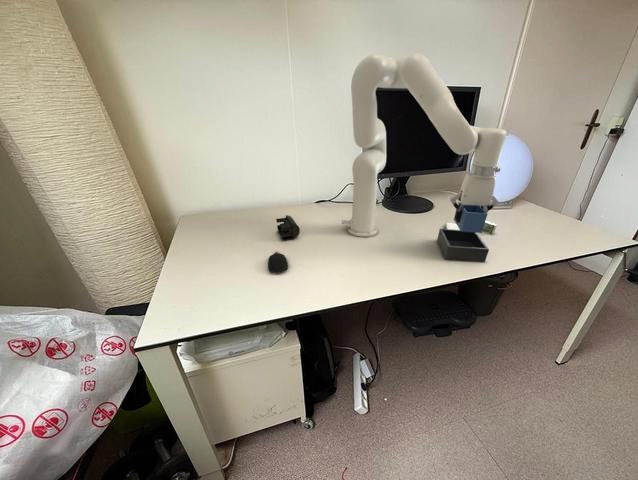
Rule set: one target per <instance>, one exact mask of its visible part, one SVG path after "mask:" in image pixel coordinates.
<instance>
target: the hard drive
mask: <svg viewBox="0 0 638 480" xmlns="http://www.w3.org/2000/svg"><path fill="white" fill-rule="evenodd" d="M444 226H445V229H452V230H460V229H459V227H458V226H457V224H456V223H455V222H445V224H444Z"/></svg>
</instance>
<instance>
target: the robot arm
mask: <svg viewBox="0 0 638 480" xmlns="http://www.w3.org/2000/svg"><path fill="white" fill-rule="evenodd" d="M350 83H351V84H350V91H351V93H350V94H351V107H352V109H351V110H352V130H353V140H354V142H355V144H356V145H357V146H358V147H359V148H360V149H362V152H361V153H360V154H358V155H357V156H356V157H355V158H354V160H353V163H352V166H351V168H352V170H351V171H352V172H351V173H352V184H353V185H352V187H353V189H352V210H351V211H352V213H351V219H348V220H347V219H341V225H343V227H347V231H348V233H349V234H350V235H352V236H356V237H362V238H366V237H372V236H374V235H376V234H378V227H377V226H376V225H375V220H376V219H375V218H376V210H377V209H376V208H377V199H378V198H377V197H378V174H379V173H381V172H382V171H383V170H384V169H385V167H386V164H387V130H386V126H385V124H384V122H383V120H381V119H380V118H378V101H377V95H376V92H377V88H381V89H407V90H408V91H409V93H410V94H411V95H412V96H413V98H414V99H415V100H416V102H417V103H418V105H419V106H420V107H421V108H422V110H423V111H424V113H425V114H426V115H427V117H428V119H429V120H430V122H431V123H432V125H433V126H434V127H435V129H436V130H437V132H438V134H439V135H440V137H441V138H442V139H443V140H444V142H445V144H447V146H448V147H449V148H450V150H451V151H453V153H455V154H457V155H460V156H463V155H464V156H465V155H468V154H469V153H471V152H472V151H474V154H473V159H472V162H471V166H470V169H469V172H467V173H466V174H465V176H464V178H463V180H462V183H461V185H460V188H459V192H458V193H456V194H455V195H453V196H452V197H450V199H449V201H450V202H451V204H452V205H453V207H454V208H455V213H456V214H455V213H454V216H455V219H456V221H457V222H458V223H459V222H460V218H461V215H462V212H461V210H462V209H463V208H464V207H465V205H472V206H481V207H482V208H483V209H484V210H485V211H486V213H487V214H488V212H489V211H490V210H492V209H494V207H496V206H497V205H498V204H499V200H498V199H497V198H496V197H495V196H494V192H495V187H496V179H497V178H496V174H497V173H500V172H501V167H499V166H498V164H499V161H500V159H501V155H502V151H503V147H504V145H505V142H506V139H507V134H508V133H507V131H506V129H504V128H498V127H478V126H474V125H470V124H469V122H468V121H467V119H466V118H465V117H464V115H463V114H462V112H461V111H460V109H459V107H458V106H457V104H456V102H455V100H454V96H453V94H452V92H451V90H450V89H449V87H448V86H447V85H446V84H445V82H444V81H443V80H442V78H441V77H440V76H439V74H438V73H437V71H436V70H435V69H434V68H433V65H432V63H431V60H430V59H429V58H428V57H426V56H425V55H423V54H421V53H418V52H417V53H412V54H409V56H407V57H390V56H387V55H386V54H385V55H384V54H382V53H371V54H368V55H367V56H366V57H364V58H363V59H361V60H360V62H359V63H358V64H357V66H356V67H355V69H354V71H353V73H352V77H351V82H350ZM457 200H458V202H460V203H459V204H458V202H457ZM456 209H457V210H456Z"/></svg>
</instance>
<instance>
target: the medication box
mask: <svg viewBox="0 0 638 480" xmlns="http://www.w3.org/2000/svg"><path fill="white" fill-rule="evenodd" d="M497 227H498V224H495V223H493V222H490V221H487V220H486V221H485V224H484V227H483V230H482V232H485V233H487V234H490V235H493V234H495V231H496V230H497Z"/></svg>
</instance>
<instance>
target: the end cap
mask: <svg viewBox="0 0 638 480" xmlns="http://www.w3.org/2000/svg"><path fill="white" fill-rule="evenodd" d="M275 220H276V223H278V224H277V225H276V228H277V233H278V235H279V237H280V238H281V241H282V242H286V241H293V240H295V239H296V238H297V237H298V236H299V235H300V233H301V228H300V226H299V225H298V224H297V222H296V221H295V220H294V218H293V217H292V216H291V215H288V214H287V215H285V217H279V218H276V219H275Z"/></svg>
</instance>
